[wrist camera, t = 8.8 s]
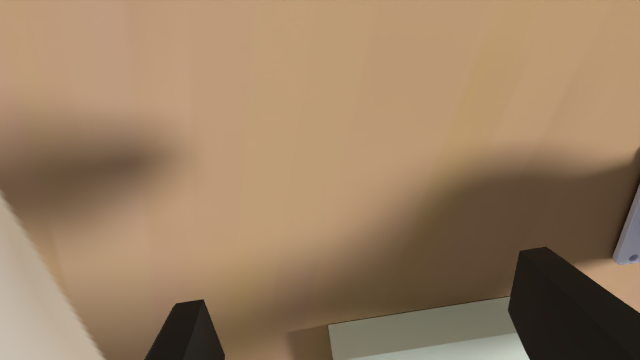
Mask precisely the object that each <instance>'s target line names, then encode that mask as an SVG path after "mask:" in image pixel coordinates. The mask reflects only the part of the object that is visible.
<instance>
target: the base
mask: <svg viewBox="0 0 640 360" xmlns="http://www.w3.org/2000/svg"><path fill="white" fill-rule="evenodd" d="M509 301H510V297H504V298H498V299H491V300H485V301H478V302H472V303H465V304H459V305H453V306H446V307H440V308H433V309H427V310H421V311H414V312H408V313H401V314H395V315H388V316H382V317H376V318H369V319H363V320H356V321H350V322H344V323H337V324H331V325H328V329H329V336H330V343H331V350H332V357H333V360H530V359H529V357H528V355H527V354H526V352H525V350H524V347H523V345H522V343H521V341H520V338H519V336H518V334H517V332H516V329H515V327H514V325H513V322H512V320H511V317H510V315H509V313H508V306H509Z"/></svg>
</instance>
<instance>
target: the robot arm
mask: <svg viewBox="0 0 640 360" xmlns="http://www.w3.org/2000/svg"><path fill="white" fill-rule="evenodd" d="M613 260H614V261H615V262H616V263H617V264H619V265H624V264H631V263H637V262H640V185H639V187H638V190H637V193H636V195H635V198H634V201H633V203H632V206H631V209H630V211H629V214H628V217H627V220H626V222H625V225H624V228H623V230H622V233H621V236H620V238H619V241H618V244H617V246H616V249H615V252H614V254H613ZM508 313H509V315H510V317H511V320H512V322H513V325H514V327H515V329H516V332H517V334H518V336H519V338H520V341H521V343H522V345H523V347H524V350H525V352H526V354H527V355H528V357H529V359H530V360H640V313H639V312H637V311H636V310H634V309H633V308H632V307H630V306H629V305H627V304H626V303H624V302H623V301H621V300H620V299H619V298H617V297H616V296H614V295H613V294H611V293H610V292H609V291H607V290H606V289H604V288H603V287H602V286H600V285H599V284H597V283H596V282H595V281H593V280H592V279H590V278H589V277H588V276H586V275H585V274H584V273H582V272H581V271H579V270H578V269H577V268H575V267H574V266H572V265H571V264H570V263H568V262H567V261H566V260H564V259H563V258H561V257H560V256H558V255H557V254H556V253H554V252H553V251H551V250H550V249H548V248H547V247H542V248H535V249H529V250H522V251H520V252H519V257H518V262H517V267H516V272H515V276H514V281H513V286H512V291H511V296H510V301H509V306H508ZM144 360H225V354H224V352H223V349H222V347H221V344H220V341H219V339H218V336H217V334H216V331H215V328H214V326H213V323H212V320H211V318H210V315H209V313H208V310H207V307H206V305H205V302H204V300H203V299H202V300H196V301H189V302H183V303H176V304H175V306H174V307H173V308H172V310H171V312H170V314H169V316H168V317H167V319H166V321H165V323H164V325H163V327H162V329H161V330H160V332H159V334H158V336H157V338H156V340H155V341H154V343H153V345H152V347H151V349H150V350H149V352H148V354H147V356H146V357H145V359H144Z"/></svg>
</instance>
